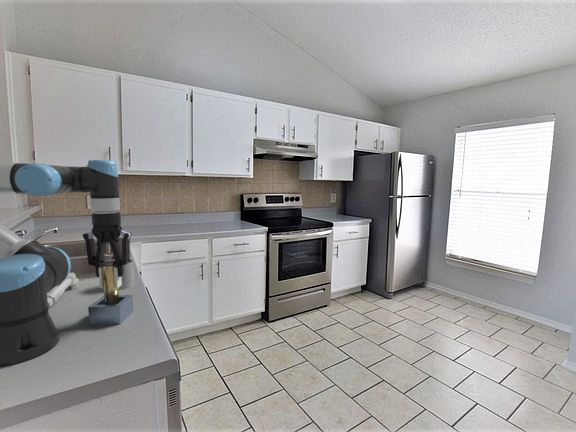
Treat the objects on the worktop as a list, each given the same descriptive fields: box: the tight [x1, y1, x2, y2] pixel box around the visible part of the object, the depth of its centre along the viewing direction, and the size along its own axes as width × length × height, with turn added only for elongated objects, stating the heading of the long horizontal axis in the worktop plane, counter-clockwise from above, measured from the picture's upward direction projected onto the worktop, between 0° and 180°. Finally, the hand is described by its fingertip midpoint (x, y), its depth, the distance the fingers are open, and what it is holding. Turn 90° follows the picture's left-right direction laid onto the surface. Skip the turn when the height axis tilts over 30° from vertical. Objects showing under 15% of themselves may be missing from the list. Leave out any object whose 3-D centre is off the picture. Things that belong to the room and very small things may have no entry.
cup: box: [119, 259, 135, 290], centre depth 123 cm, size 8×8×10 cm
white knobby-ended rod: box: [47, 272, 80, 310], centre depth 111 cm, size 5×7×25 cm
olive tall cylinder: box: [102, 258, 120, 304], centre depth 94 cm, size 4×4×13 cm
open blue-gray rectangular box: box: [87, 294, 134, 326], centre depth 95 cm, size 9×9×6 cm
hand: (111, 286), depth 94 cm, fingers closed on olive tall cylinder, 4 cm apart
